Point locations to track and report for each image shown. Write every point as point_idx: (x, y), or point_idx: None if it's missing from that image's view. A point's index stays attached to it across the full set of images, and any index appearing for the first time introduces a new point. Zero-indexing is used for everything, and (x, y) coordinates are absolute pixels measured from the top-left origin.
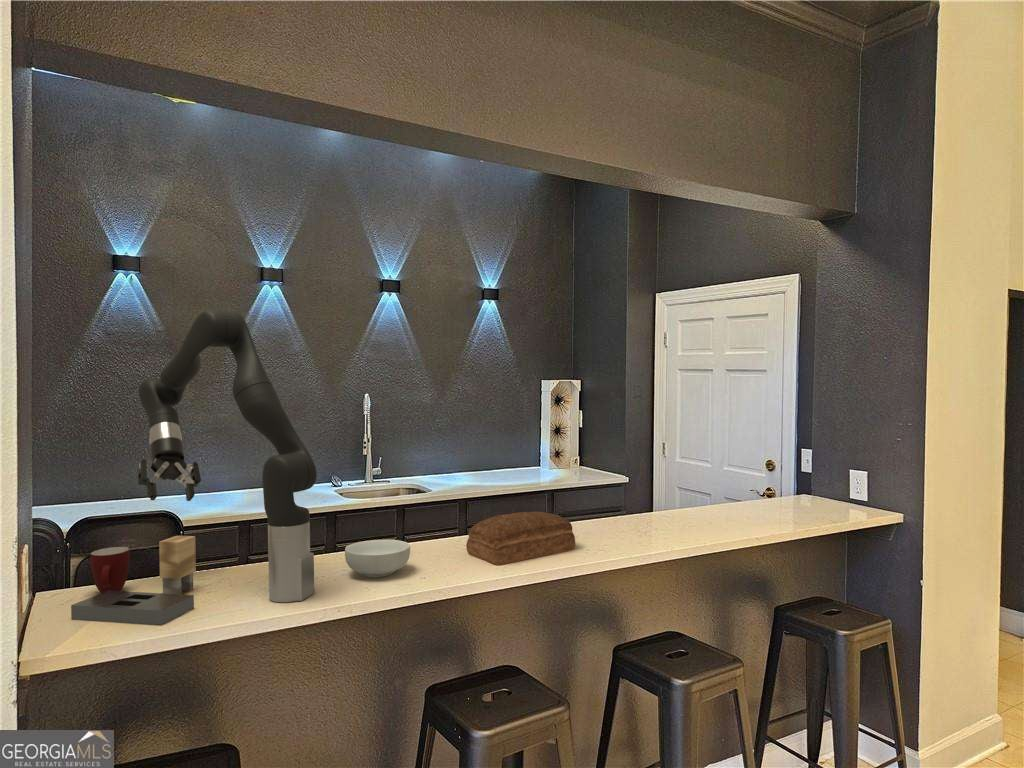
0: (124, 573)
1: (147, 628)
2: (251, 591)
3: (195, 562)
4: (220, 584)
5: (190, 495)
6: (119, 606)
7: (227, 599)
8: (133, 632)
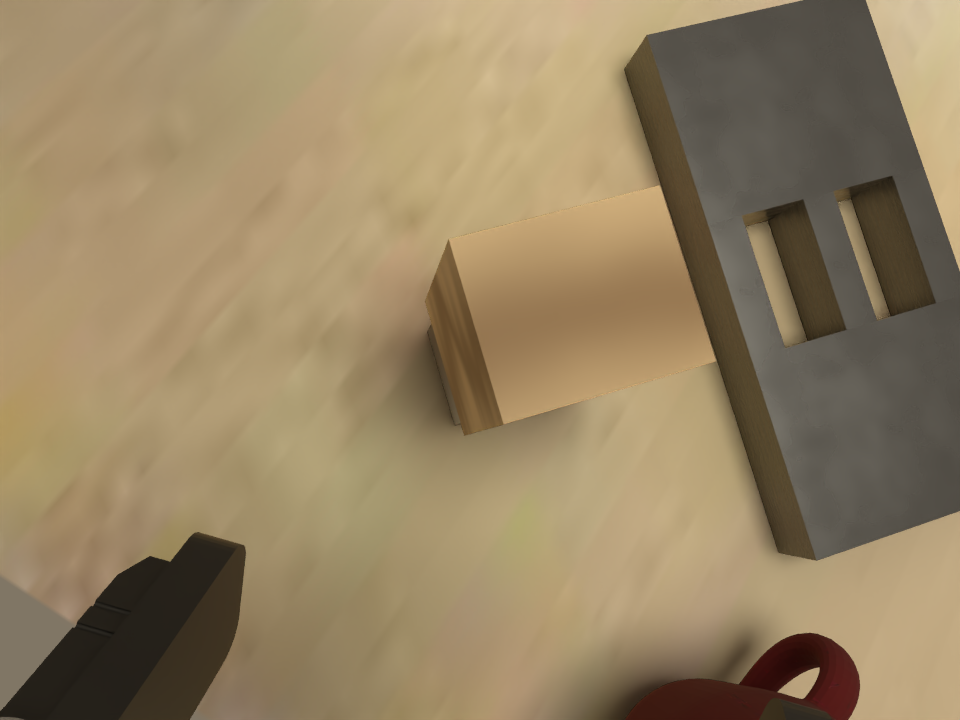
0: (678, 691)
1: None
2: (299, 10)
3: (430, 289)
4: (279, 278)
5: (222, 553)
6: (926, 231)
7: (453, 27)
8: (923, 64)
